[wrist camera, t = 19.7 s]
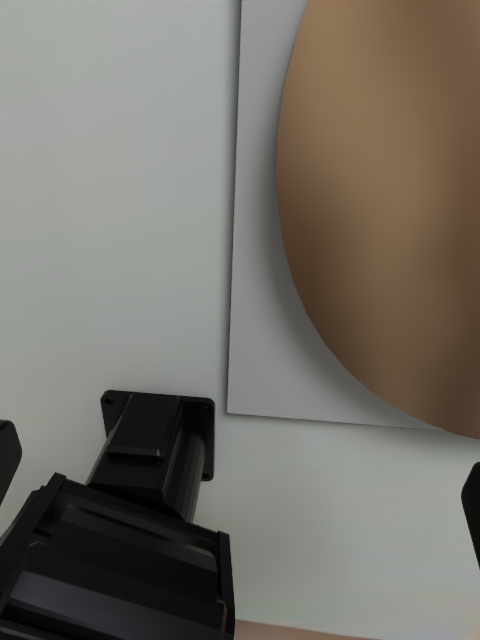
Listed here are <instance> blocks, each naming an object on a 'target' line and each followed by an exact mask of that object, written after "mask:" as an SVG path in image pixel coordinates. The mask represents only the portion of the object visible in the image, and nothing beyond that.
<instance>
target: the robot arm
mask: <svg viewBox="0 0 480 640" xmlns="http://www.w3.org/2000/svg"><path fill="white" fill-rule="evenodd" d="M108 398H110V399H112V400H110V399H108ZM101 406H102V412H103V418H104V424H105V430H106V436H107V440H106V442H105V444H104V446H103V448H102V451H101V453H100V455H99V457H98V459H97V461H96V463H95V465H94V467H93V469H92V471H91V473H90V475H89V477H88V479H87V481H86V483H85V485H83V484H81V483H78V482H75V481H72V480H69V479H67V478H66V477H67V476H65V475H62V474H59V473H56V472H55V473H54V475H53V476H52V478H51V479H50V481H49V482H48V484H47V485H46V486H43V485H42V486H41V488H40V489H39V490H36V491H32V492H31V494H30V495H29V497H28V499H27V500H26V502H25V503H24V505H23V507H22V508H21V510H20V512H19V513H18V515H17V516H16V518H15V519H14V521H13V522H12V524H11V525H10V526H9V528H8V529H7V530H6V531H5V533H4V534H3V535H2V536H1V537H0V640H233V639H234V629H235V604H234V591H233V578H232V565H231V552H230V538H229V534H227V533H224V532H221V531H218V532H215V531H212V530H209V529H207V528H204V527H201V526H198V525H195V524H193V519H194V514H195V508H196V503H197V498H198V493H199V487H200V482H201V481H211V480H212V479H213V476H214V451H215V403H214V401H213V400H211V399H209V398H201V397H189V396H177V395H164V394H152V393H140V392H128V391H115V390H107V391H105V392H104V394H103V395H102V397H101ZM203 406H207V407H209V408H204V407H203ZM21 457H22V448H21V445H20V442H19V438H18V435H17V432H16V429H15V426H14V424H13V423H12V422H11V421H9V420H0V506H1V503H2V501H3V499H4V497H5V494H6V492H7V490H8V488H9V486H10V483H11V481H12V479H13V477H14V474H15V472H16V470H17V468H18V466H19V463H20V461H21ZM461 500H462V505H463V509H464V512H465V516H466V520H467V524H468V527H469V531H470V535H471V539H472V542H473V546H474V550H475V554H476V557H477V561H478V565H479V569H480V462H477V463H476V464H474V466H473V467H472V470H471V472H470V474H469V476H468V478H467V480H466V482H465V484H464V486H463V488H462V493H461Z"/></svg>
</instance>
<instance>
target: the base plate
mask: <svg viewBox="0 0 480 640" xmlns="http://www.w3.org/2000/svg"><path fill="white" fill-rule="evenodd" d="M307 3H308V0H242V10H241V38H240V66H239V94H238V122H237V149H236V177H235V205H234V233H233V261H232V289H231V317H230V345H229V373H228V401H227V413H235V414H247V415H259V416H271V417H283V418H295V419H307V420H319V421H331V422H343V423H355V424H368V425H380V426H392V427H404V428H416V429H428V430H440V431H447V430H444V429H441V428H438V427H435V426H432V425H429V424H426V423H424V422H422V421H420V420H418V419H416V418H414V417H412V416H410V415H408V414H406V413H404V412H402V411H400V410H398V409H396V408H395V407H393V406H392V405H390V404H389V403H387V402H386V401H384V400H383V399H381V398H380V397H378V396H377V395H375V394H374V393H372V392H371V391H370V390H369V389H368V388H366V387H365V386H364V385H363V384H362V383H361V382H360V381H359V380H357V379H356V378H355V377H354V376H353V375H352V374H351V373H350V372H348V371H347V370H346V368H345V367H344V366H343V365H342V364H341V362H340V361H339V360H338V359H337V358H336V356H335V355H334V354H333V353H332V352H331V351H330V349H329V348H328V347H327V346H326V344H325V343H324V341H323V340H322V338H321V336H320V335H319V333H318V331H317V330H316V328H315V327H314V325H313V323H312V322H311V320H310V318H309V317H308V315H307V313H306V310H305V308H304V306H303V303H302V301H301V299H300V296H299V294H298V292H297V289H296V287H295V285H294V282H293V279H292V276H291V272H290V268H289V264H288V261H287V257H286V253H285V249H284V246H283V242H282V234H281V226H280V218H279V210H278V202H277V189H276V162H277V133H278V125H279V117H280V109H281V101H282V93H283V87H284V83H285V79H286V75H287V71H288V67H289V63H290V58H291V54H292V50H293V46H294V42H295V38H296V34H297V31H298V28H299V25H300V23H301V20H302V17H303V14H304V12H305V9H306V6H307Z"/></svg>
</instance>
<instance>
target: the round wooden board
mask: <svg viewBox="0 0 480 640" xmlns="http://www.w3.org/2000/svg"><path fill="white" fill-rule="evenodd" d="M276 189H277V202H278V210H279V218H280V226H281V234H282V242H283V246H284V249H285V253H286V257H287V261H288V264H289V268H290V272H291V276H292V279H293V282H294V285H295V287H296V289H297V292H298V294H299V296H300V299H301V301H302V303H303V306H304V308H305V310H306V313H307V315H308V317H309V318H310V320H311V322H312V323H313V325H314V327H315V328H316V330H317V331H318V333H319V335H320V336H321V338H322V340H323V341H324V343H325V344H326V346H327V347H328V348H329V349H330V351H331V352H332V353H333V354H334V355H335V356H336V358H337V359H338V360H339V361H340V362H341V364H342V365H343V366H344V367H345V368H346V370H347V371H348V372H350V373H351V374H352V375H353V376H354V377H355V378H356V379H357V380H359V381H360V382H361V383H362V384H363V385H364V386H365V387H366V388H368V389H369V390H370V391H371V392H372V393H374V394H375V395H377V396H378V397H380V398H381V399H383V400H384V401H386V402H387V403H389V404H390V405H392V406H393V407H395V408H396V409H398V410H400V411H402V412H404V413H406V414H408V415H410V416H412V417H414V418H416V419H418V420H420V421H422V422H424V423H426V424H429V425H432V426H435V427H438V428H441V429H444V430H447V431H449V432H452V433H455V434H458V435H463V436H467V437H472V438H476V439H480V0H308V3H307V6H306V9H305V12H304V14H303V17H302V20H301V23H300V25H299V28H298V31H297V34H296V38H295V42H294V46H293V50H292V54H291V58H290V63H289V67H288V71H287V75H286V79H285V83H284V87H283V93H282V101H281V109H280V117H279V125H278V133H277V162H276Z"/></svg>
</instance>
